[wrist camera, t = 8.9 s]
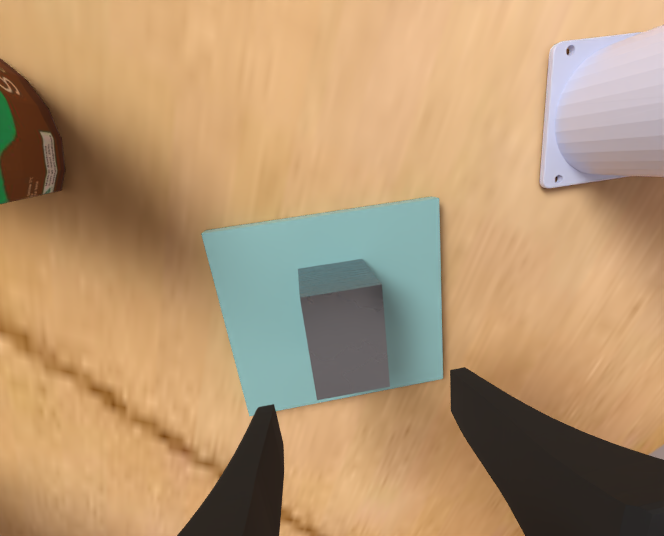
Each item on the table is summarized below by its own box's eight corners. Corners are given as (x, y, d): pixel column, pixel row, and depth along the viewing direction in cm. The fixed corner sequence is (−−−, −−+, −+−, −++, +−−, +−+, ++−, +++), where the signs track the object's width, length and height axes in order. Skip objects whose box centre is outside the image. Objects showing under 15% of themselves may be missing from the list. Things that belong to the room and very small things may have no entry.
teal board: (432, 196, 20) (439, 197, 19) (437, 370, 24) (443, 378, 23) (205, 230, 19) (201, 233, 18) (251, 405, 23) (249, 416, 22)
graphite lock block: (362, 258, 20) (381, 284, 16) (370, 343, 22) (389, 386, 17) (297, 268, 20) (299, 297, 15) (311, 353, 21) (316, 400, 17)
